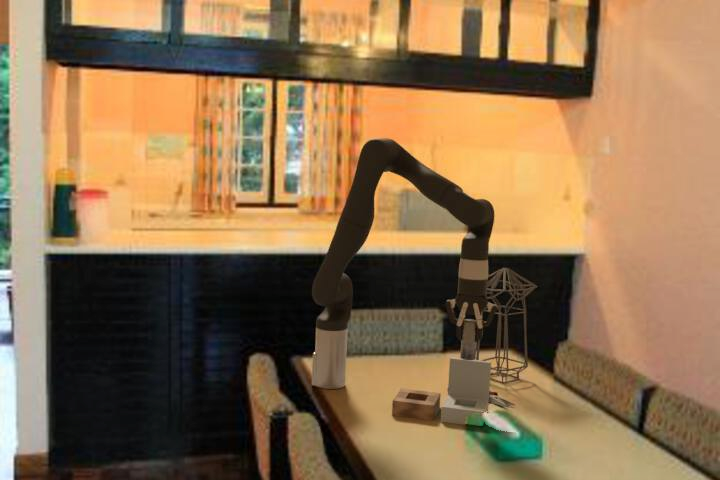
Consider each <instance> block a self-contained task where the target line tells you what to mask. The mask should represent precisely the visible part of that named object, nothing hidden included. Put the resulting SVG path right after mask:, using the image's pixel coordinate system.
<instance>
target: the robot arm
mask: <svg viewBox="0 0 720 480" xmlns="http://www.w3.org/2000/svg"><path fill="white" fill-rule="evenodd" d="M388 172H389V173H392V174H395V175H397V176H400V177H402V178H403V179H405V180H407V181H408V182H410V183H411V184H412V185H413V186H414V187H415V188H416V189H417V190H418V191H419V193H421V195H423V196H424V197H425V198H427V199H428V200H429V201H431V202H432V203H434V204H436V205H438V206H440V207H441V208H442V209H444V210H446V211H447V212H448V213H449V214H451V215H452V216H453V217H454V218H455V219H456V220H458V222H459V223H462V224H463V225H464V226H467V230H466V231H467V232H466V234H465V236H463V238H462V240H461V247H460V248H461V249H460V260H459V265H458V279H457V295H456V297H455V298H453V299H447V300H446V301H445V304H444V305H445V308H446V312H447V315H448V319H449V322H450V323H451V324H454V325H455V326H456V335H455V336H456V339H458V341H461V338H462V322H463V320H464V319H465V317H466V315H471V316H475V320H477V324H478V328H477V335H476V342H477V343H478V342H479V341H480V342H481V341H482V340H483V339H482V338H483V334H484V333H483V331H484V328H488V327H490V326H491V323H492V321H493V318H494V316H495V315H496V314H495V312H496V313H497V310H498V308H497V307H498V306H499V305H498V303H497V304H495V303H491V302H489V299H487V297H488V296H487V295H488V294H487V292H488V290H487V288H488V287H487V285H488V284H487V282H488V281H489V280H488V279H489V278H488V276H489V250H490V249H489V248H490V244H489V243H490V239H491V236H492V231H493V228H494V224H495V209H494V206H493V204H492V203H491V201H489V200H487V199H486V198H485V199H484V198H477V199H476V198H473V197H471V196H470V195H468V194H466V193H465V192H464V190H463V188H462V187H461V186H459V185H458V184H456V183H455V182H454V181H451V180H450V179H448V178H446V177H444V176H443V175H442V174H439V173H438V172H436V171H435V170H433V169H431V168H429V167H428V166H426V165H425V164H424V163H422V162H421V161H420V160H419V159H417V158H416V157H414V156H413V155H412V154H411V153H410V152H409V151H408V150H406V149H405V148H404V146H402V145H401V144H399V143H398V142H397V141H395V140H394V139H391V138H388V137H386V138H385V137H383V138H382V137H380V138H379V137H376V138H371V139H369V140H368V141H366V142H365V143H364V144H363V146H362V148H361V150H360V153H359V156H358V160H357V164H356V169H355V172H354V177H353V181H352V184H351V187H350V190H349V191H348V194H347V197H346V201H345V202H344V203H345V204H344V207H343V209H342V211H341V214H340V217H339V219H338V221H337V225H336V228H335V230H334V234H333V237H332V239H331V241H330V244H329V247H328V250H327V253H326V255H325V257H324V260H323V262H322V263H321V265H320V267H319V270H318V271H317V274H315V275H316V276H315V278H314V280H313V283H312V287H311V295H312V299H313V300H314V302H315V304H317V305H318V306H321V307H324V309H323V310H322V312H321V313H320V314H319V315H318V316H317V317H316V320H315V345H314V346H315V348H314V349H315V350H314V352H313V353H312V361H311V362H312V364H311V386H314V387H317V388H319V389H325V390H327V389H328V390H335V389H337V390H338V389H342V388H344V387H345V386H346V379H347V378H346V371H347V370H346V369H347V353H348V351H347V349H348V348H347V347H348V330H349V329H348V325H349V324H348V323H349V322H350V319H351V316H352V310H353V309H352V308H353V299H354V298H353V295H354V294H353V293H354V290H353V289H354V288H353V283H352V280H351V278H350V277H349V275H347V274H346V273H344V272H345V270H346V268H347V266H348V265H349V263H350V261H352V259H353V258H354V257H355V256H356V254H358V252H359V251H360V250H361V248H362V247H363V246H364V244H365V243H366V241H367V239H368V237H369V234H370V231H371V230H372V226H373V223H374V219H375V212H376V211H375V196H376V190H377V188H378V184H379V183H380V180H381V178H382V176H383V174H384V173H388ZM455 305H457V307H458V308H459V310H460V313H459V317H458V318H456V314H455V311H454V308H455V307H456V306H455ZM497 305H498V306H497ZM487 307H488V309H487V311H489V312H488V316H487V318H486V321H484V320H483V316H482V313H481V312H482V311H483V310H485V309H484V308H487ZM483 312H484V311H483Z"/></svg>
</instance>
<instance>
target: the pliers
mask: <svg viewBox="0 0 720 480" xmlns="http://www.w3.org/2000/svg"><path fill="white" fill-rule="evenodd" d="M447 391H448V388H447ZM489 402H490V403H491V404H493V405H497V406H501V407H504V408H509V406H515V407H516V404H515V403H514V402H511V401H509V400H507V399H505V398H504V397H501V396H499V394H498V392H497V391H491V390H490V389H489Z"/></svg>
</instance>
